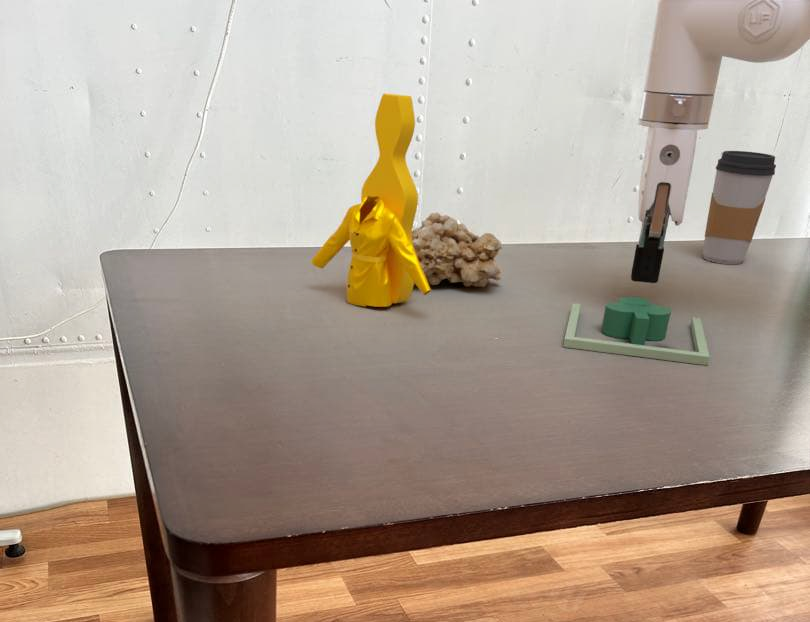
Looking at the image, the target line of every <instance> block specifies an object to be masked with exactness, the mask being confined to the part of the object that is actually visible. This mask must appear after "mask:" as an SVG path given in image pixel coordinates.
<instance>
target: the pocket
mask: <svg viewBox="0 0 810 622" xmlns="http://www.w3.org/2000/svg"><path fill="white" fill-rule="evenodd" d="M581 308H582V304H581V303H572V305H571V309H570V314H569V318H568V323H567V326H566V331H565V335H564V338H563V339H564V340H563V345H562V347H563V348H567V349H574V350H583V351H591V352H599V353H606V354H615V355H621V356H630V357H637V358H646V359H652V360H660V361H661V360H662V361H668V362H669V361H670V362H677V363H685V364H693V365H699V366H708V365H709V361H710V352H709V348H708V343H707V340H706V335H705V331H704V327H703V322H702V318H700V317H694V316H692V317H691V320H690V324H689V326H690V330H691V331H690V332H691V336H692V343H693V346H694V351H691V350H683V349H674V348H667V347H660V346H659V347H658V346H652V345H651V346H650V345H645V344H644V345H636V344H631V343H627V342H619V341H611V340H602V339H597V338H596V339H595V338H588V337H579V336H576V332H577V328H578V323H579V318H580V314H581Z"/></svg>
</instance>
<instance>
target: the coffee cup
mask: <svg viewBox="0 0 810 622" xmlns="http://www.w3.org/2000/svg"><path fill="white" fill-rule="evenodd" d="M775 161H776V156H775V155H772V154H768V153H763V152H754V151H745V150H724V151H723V152H722V154H721V157H720V158H719V159H717V164H716V166H715V170H716V171H715V177H714V183H713V188H712V192H711V195H710V196H711V197H710V201H709V208H708V214H707V219H706V225H705V226H706V227H705V232H704V240H703V247H702V251H701V252H702V255H703V259H704V260H705V259H706V260H705V261H708V262H711V261H712V263H715V262H716V263H715V264H720V263H721V264H722V265H740V264H742V263H743V260H745V259H746V257H747V253H748V251H749V248H750V244H751V243H752V240H753V238H754V235H755V232H756V229H757V225H758V224H759V220H760V216H761V214H762V210H763V208H764V205H765V202H766V198H767V194H768V192H769V189H770V185H771V183H772V179H773V176H775V174H776V173H775V172H776V170H775V169H776V167H777V165H776V164H775ZM721 264H720V265H721Z"/></svg>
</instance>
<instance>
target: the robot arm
mask: <svg viewBox="0 0 810 622" xmlns="http://www.w3.org/2000/svg"><path fill="white" fill-rule="evenodd" d="M809 40H810V0H658V2H657V8H656V15H655V20H654V26H653V32H652V38H651V44H650V51H649V55H648V56H649V57H648V63H647V69H646V75H645V82H644V87H643V88H644V89H643V92H642V93H643V94H642V100H641V105H640V111H639V117H638V123H637V124H638V125H639V126H642V127H648V128H647V129H648V130H647V136H646V142H645V147H644V148H645V149H644V153H643V160H642V166H641V173H640V180H639V181H640V182H639V189H638V202H637V203H638V206H637V207H638V208H637V210H638V212H637V213H638V215H637V216H638V220H639V221H640V222H641V226H640V232H639V237H638V244H637V243H636V244H635V250H634V255H633V256H634V258H633V262H632V267H631V273H630V279H631V281H632V282H638V283H648V284H656V283H658V282H659V279H660V273H661V268H662V262H663V258H664V252H665V246H664V245H665V244H664V243H665V240H666V235H667V229H668V226H669V220H670V219H671V222H674V225H675V226H678V227H679V226H680V225H681V224H682V223H683V221H684V216H685V215H684V214H685V209H686V203H687V198H688V192H689V186H690V180H691V175H692V170H693V165H694V158H695V153H696V152H695V151H696V146H697V139H698V138H697V137H698V131H699V130H700V131H701V130H707V129H708V128H709V124H710V123H709V122H710V119H711V114H712V109H713V105H714V98H715V94H716V89H717V84H718V80H719V74H720V69H721V66H722V65H721V64H722V60H723V57H725V58H729V59H733V60H734V59H735V60H738V61H742V62H747V63H748V62H749V63H754V64H755V63H757V64H758V63H759V64H760V63H773V62H778V61H782V60H784V59H787V58H789V57H790V56H792V55H794V54H795V53H796V52H798V51H799V50H800V49H801V48H803V46H804V45H805V44H807V42H809Z"/></svg>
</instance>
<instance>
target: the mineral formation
mask: <svg viewBox="0 0 810 622" xmlns="http://www.w3.org/2000/svg"><path fill="white" fill-rule="evenodd" d="M412 242H413V247H414V250H415V252H416V255H417V257H418V260H419V262H420V265H421V267H422V269H423V272H424V274H425V276H426V279H427V281H428V284H429V285H431V286H434V285H435V286H437V285H439V284H440V283H441V282H442V281H443V280H445V279H447V280H448V281H449V283H451V284H452V283H462V284H463V286H464V287H471V286H474V287H479V288H483V287H485V286H486V285H487V284H488V283H489V282H490V281H489V279H492V280H495V281H501V280H502V279H503V274H502V270H501V269H500V268H499V267H498V266H497V261H496V260H495V258H496V257H497V256H498V254H499V252H500V250H502V249H503V246H502V242H501V240H500V239H498V238H497V237H496V236H495V235H494V234H493V233H489V232H485V233H483V234H482V235H481V236H479V235H476V234H475V233H473V232H470V231H469V229H468V228H467V227H466V225H465V224H464V223H458V221H457V220H456V219H455V218H452V217H451V216H450V215H447V214H443V215H441V213H439V212H432V213H430V214H429V215H428V216H427V217H426V218H425V220H422V221H421V225H420V226H419V227H415V229H412ZM414 286H417V285H416V284H415V283H414Z"/></svg>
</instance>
